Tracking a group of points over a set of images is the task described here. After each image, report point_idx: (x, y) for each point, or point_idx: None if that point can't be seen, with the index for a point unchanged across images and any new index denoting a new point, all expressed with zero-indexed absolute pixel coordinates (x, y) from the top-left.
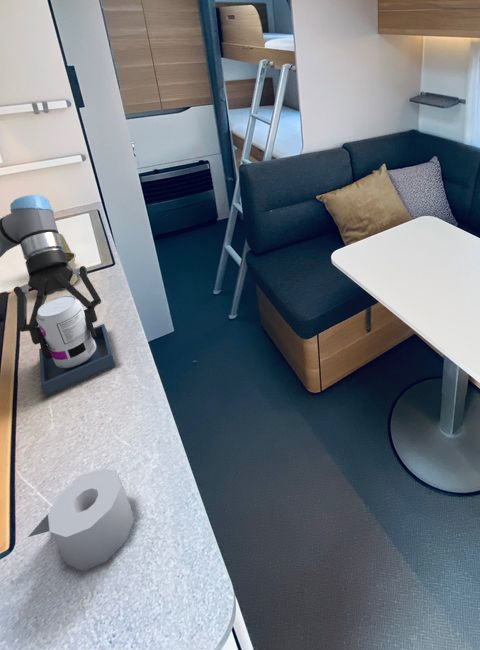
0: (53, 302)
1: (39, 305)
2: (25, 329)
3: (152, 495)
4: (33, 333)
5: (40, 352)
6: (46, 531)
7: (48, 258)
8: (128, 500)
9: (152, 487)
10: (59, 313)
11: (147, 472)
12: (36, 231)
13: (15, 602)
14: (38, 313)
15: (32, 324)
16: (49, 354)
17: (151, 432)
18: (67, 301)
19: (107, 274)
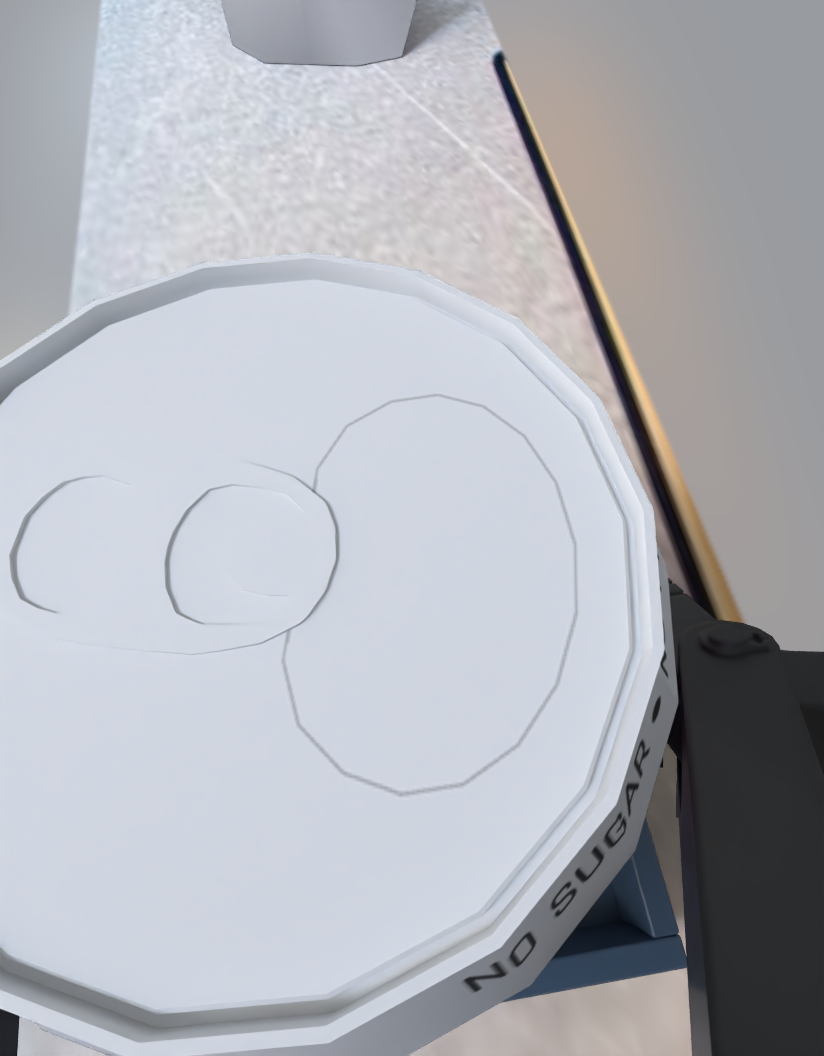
0: (346, 790)
1: (743, 976)
2: (808, 659)
3: (180, 46)
4: (676, 615)
5: (659, 893)
6: (411, 11)
7: None
8: (226, 20)
9: (175, 60)
10: (214, 274)
11: (177, 93)
12: None
13: None
14: (603, 420)
15: (727, 661)
16: (603, 930)
17: (135, 188)
18: (32, 641)
19: None
